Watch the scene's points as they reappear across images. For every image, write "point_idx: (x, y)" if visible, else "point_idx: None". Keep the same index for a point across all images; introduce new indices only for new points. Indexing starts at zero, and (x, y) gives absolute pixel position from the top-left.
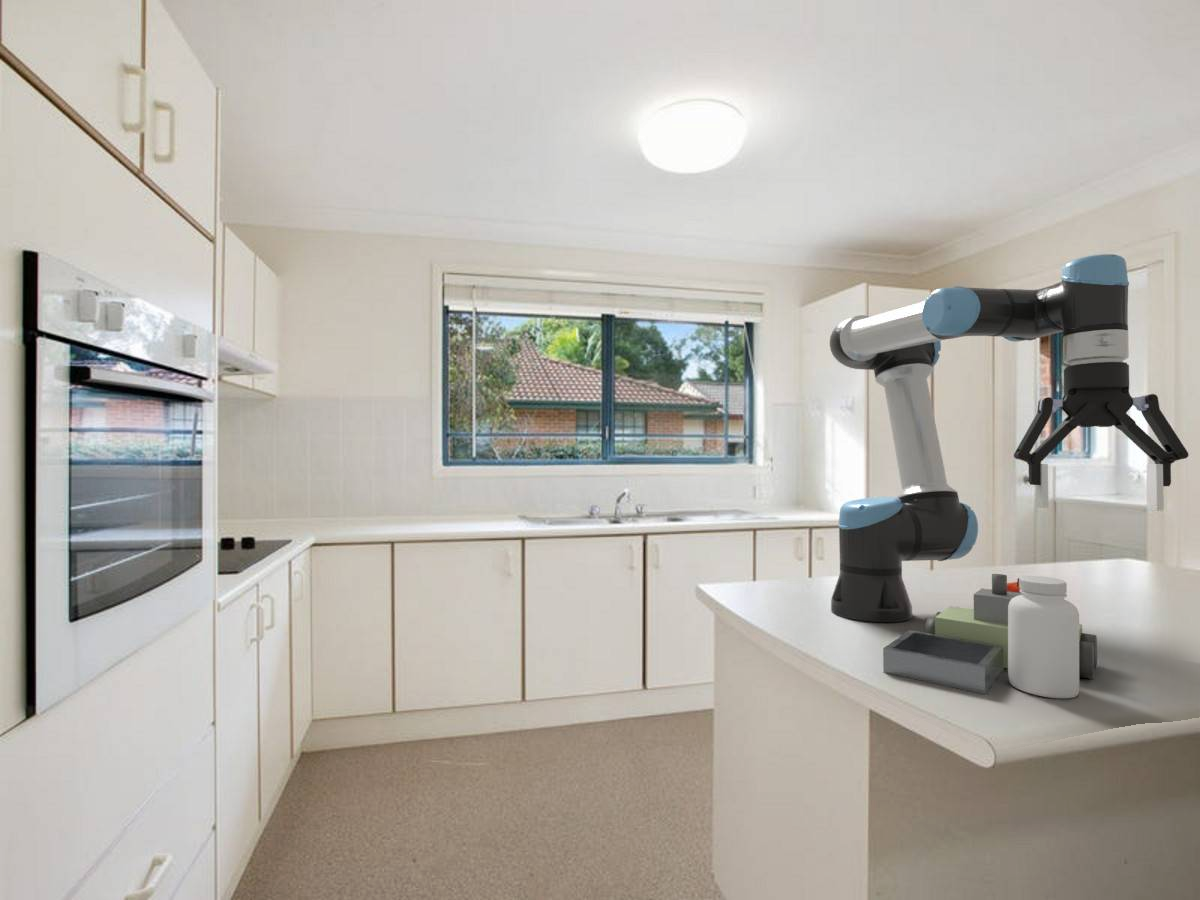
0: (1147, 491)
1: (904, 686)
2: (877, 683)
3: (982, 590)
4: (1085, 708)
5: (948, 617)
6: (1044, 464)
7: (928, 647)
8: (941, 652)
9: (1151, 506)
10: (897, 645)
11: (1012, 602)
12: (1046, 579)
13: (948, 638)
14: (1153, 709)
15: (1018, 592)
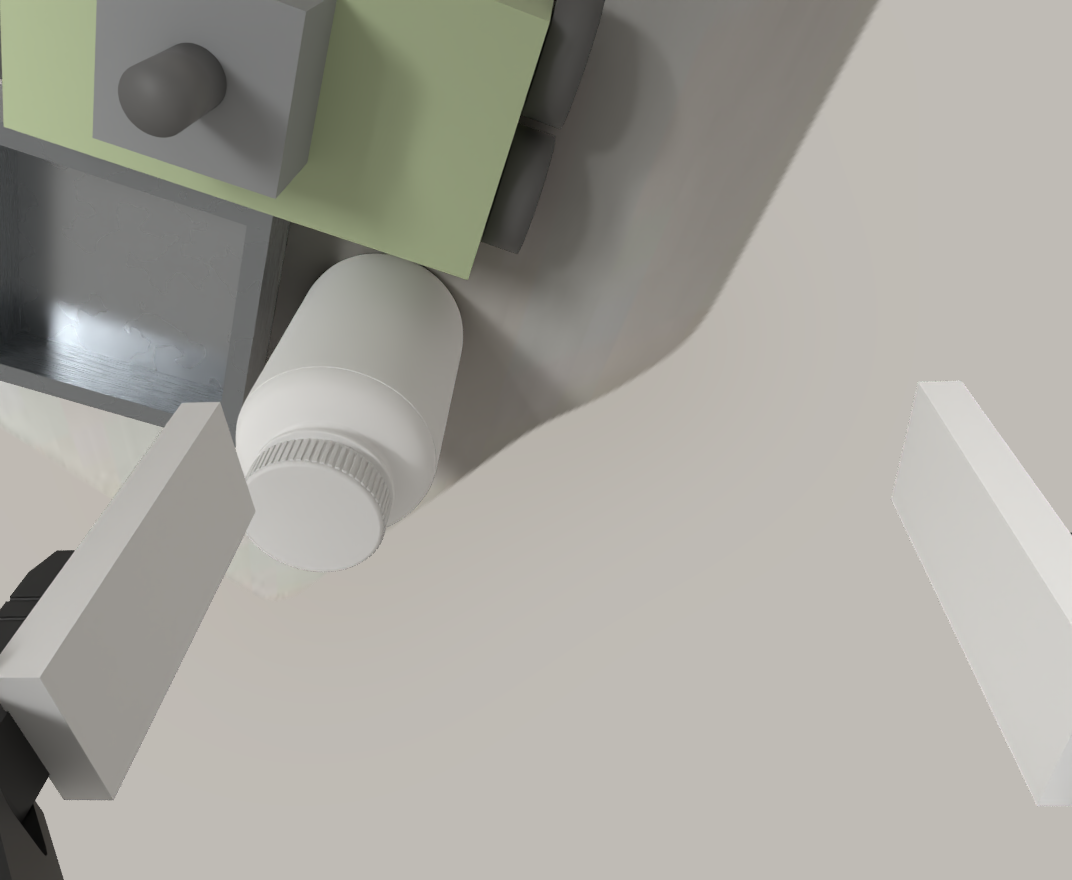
0: (971, 467)
1: (85, 419)
2: (26, 420)
3: (111, 8)
4: (457, 421)
5: (50, 108)
6: (87, 796)
7: None
8: None
9: (912, 449)
10: None
11: (243, 473)
12: (323, 513)
13: (99, 175)
14: (603, 377)
15: None
